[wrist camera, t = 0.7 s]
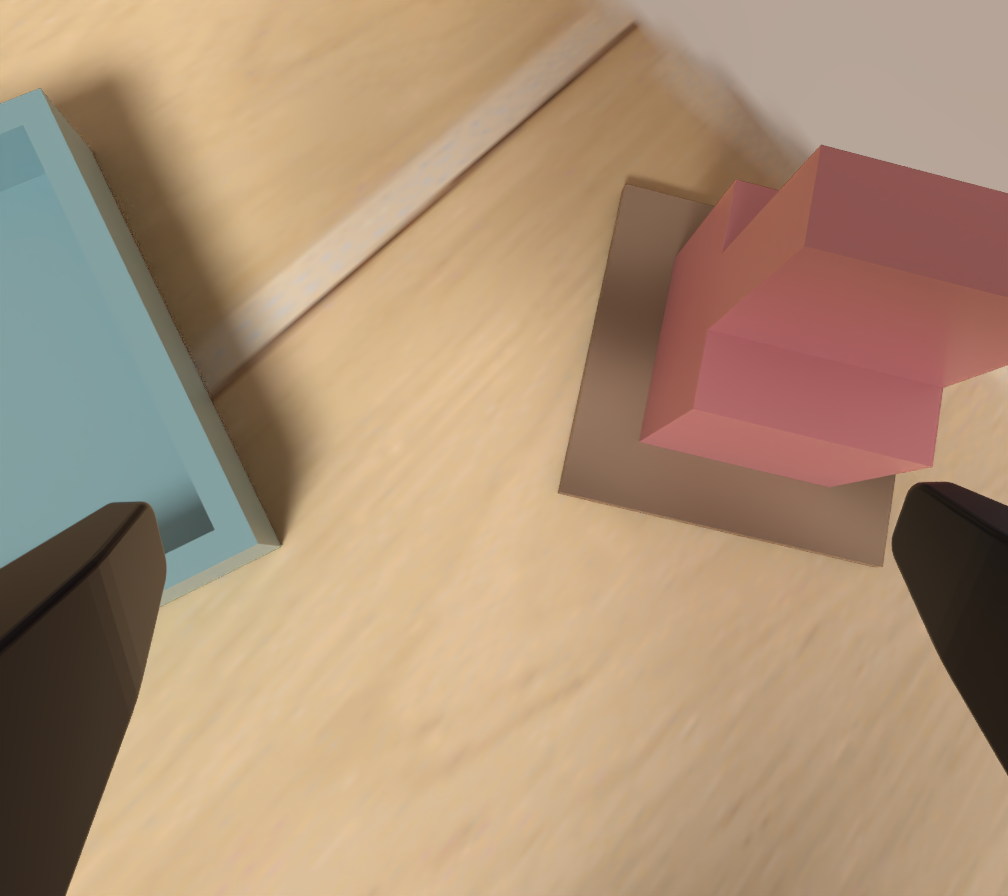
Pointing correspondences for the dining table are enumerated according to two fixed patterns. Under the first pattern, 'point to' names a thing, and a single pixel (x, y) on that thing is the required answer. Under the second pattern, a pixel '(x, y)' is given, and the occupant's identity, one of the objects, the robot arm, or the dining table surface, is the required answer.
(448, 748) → the dining table surface
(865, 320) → the red stepped block
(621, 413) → the stake stand
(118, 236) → the tray
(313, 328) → the dining table surface
